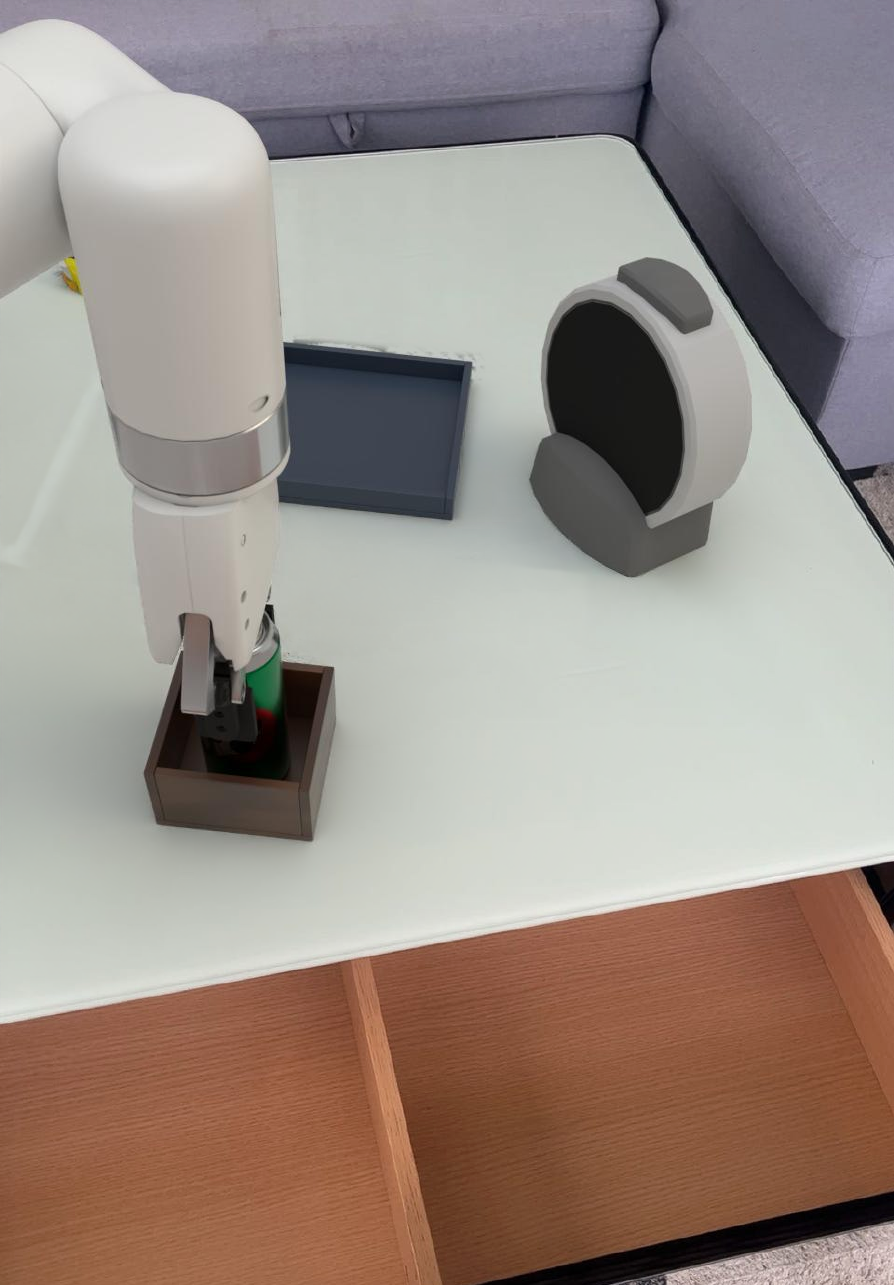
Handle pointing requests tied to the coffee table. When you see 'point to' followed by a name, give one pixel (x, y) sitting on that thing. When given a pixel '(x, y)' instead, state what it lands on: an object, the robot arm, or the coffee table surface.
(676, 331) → the alarm clock
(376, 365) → the tray
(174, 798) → the dark wooden box
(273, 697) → the soda can
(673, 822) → the coffee table surface
